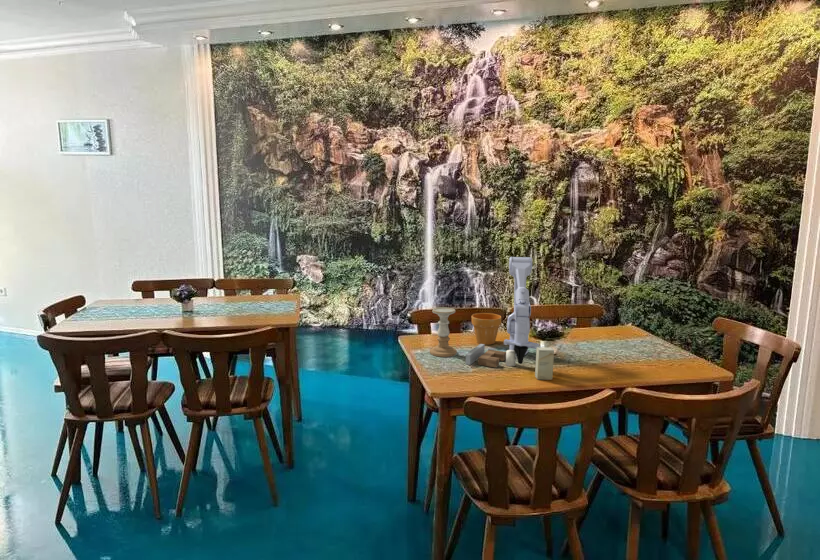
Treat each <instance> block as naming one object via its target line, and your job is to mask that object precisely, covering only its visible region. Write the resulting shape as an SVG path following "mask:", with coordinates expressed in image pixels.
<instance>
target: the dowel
mask: <svg viewBox="0 0 820 560" xmlns="http://www.w3.org/2000/svg"><path fill="white" fill-rule="evenodd" d="M505 352H506V359H505V365H506V366H507V367H515V366H516V358H517V356H516V353H515V351H514V350H509V349H507V350H506V351H505Z"/></svg>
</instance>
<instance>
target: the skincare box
mask: <svg viewBox="0 0 820 560" xmlns="http://www.w3.org/2000/svg"><path fill="white" fill-rule="evenodd" d="M535 350H536V352H535V367H534V368H535V369H534V370H535V371H534V376H535V378H536V380H548V381H549V380H551V381H552V380H553V378H554V377H553V376H554V375H553V374H554V359H555V357H554V355H555V349H554V348H553V347H551V346H550V347H545V346H544V347H541V346H539V347H537V349H535Z"/></svg>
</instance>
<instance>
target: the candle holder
mask: <svg viewBox="0 0 820 560" xmlns="http://www.w3.org/2000/svg"><path fill="white" fill-rule="evenodd" d="M432 313H433V314H434V315H435V314H436V315H437V316H438V317H439V321H437V323H438V324H439V325H438V329H437V335H438V336H437V338H436V340H437V345H435V346H434V347H432V348H430V349H429V354H430V355H431V356H434V357H439V358H449V357H454V356H456V355H457V353H458V351H457V349H456V348H454V347H453V346H452V345H449V341H450V339H451V338H450V329H449V324H450V321H449V319H448V318H449V316H450V315H454V314H455V313H456V309H455V308H452V307H440V306H439V307H433V309H432Z"/></svg>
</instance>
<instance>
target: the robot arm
mask: <svg viewBox="0 0 820 560" xmlns="http://www.w3.org/2000/svg"><path fill="white" fill-rule="evenodd" d="M508 261H509V262H508V268H509V269H508V273H509V275H510V276H512V277H513V280H514V281H513V282H514V290H513V292H514V293H513V295H514V296H513V312H512V313H511V314H509V315H507V316H508V317H507V321H506V330H507V331H506V332H507V334H509V339H506V338H505V339H504V340H503V345H504V346H507V345H508V346H509V347H508V348H509V349H508V350H514V351H515V353H516V358H517V362H518V364H520V365H522V364H523V363H524V359H525V357H526V355H527V354H528V353H530V351H529V350H530V349H535V350H536V349H537V347H540V343H536V342H533V341H529V336H530V335H529V334H530V333H531V332H530V329H531V326H530V325H531V322H530V317H531V314H532V306H531V302H530V292H529V289H528V288H527V277H528V276H530V275H531V273H532V270H533V257H531V256H530V257H529V256H528V257H527V256H522V257H521V256H510V257H509V260H508ZM529 348H530V349H529ZM528 349H529V350H528Z"/></svg>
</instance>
